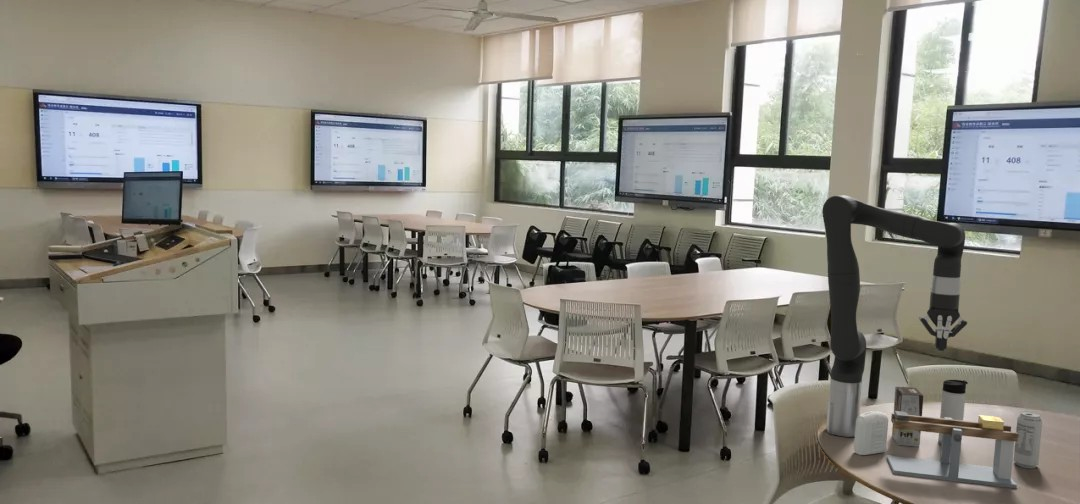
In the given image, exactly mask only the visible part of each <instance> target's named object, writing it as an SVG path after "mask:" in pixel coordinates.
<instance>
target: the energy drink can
mask: <svg viewBox="0 0 1080 504" xmlns="http://www.w3.org/2000/svg"><path fill="white" fill-rule="evenodd" d="M1042 428H1043V420H1042V419H1041V414H1039V413H1036V412H1033V411H1020V413H1019V415H1018V416H1017V418H1016V429H1015V432H1017V433H1018V442H1015V441H1014V449H1013V461H1014V462H1015V465H1016V466H1018V467H1021V468H1026V469H1036V467H1037V466H1039V461H1040V460H1039V458H1040V451H1041V441H1042V440H1041V439H1042V438H1041V437H1042V430H1043V429H1042Z"/></svg>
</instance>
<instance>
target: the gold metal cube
mask: <svg viewBox="0 0 1080 504" xmlns="http://www.w3.org/2000/svg"><path fill="white" fill-rule="evenodd" d="M977 422H978V428H980V429H989V430H998V431H1003V427H1004V425H1005V422H1004V420H1003V419H1002V418H1001V417H999V416H993V415H982V414H978V421H977Z"/></svg>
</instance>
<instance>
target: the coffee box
mask: <svg viewBox="0 0 1080 504" xmlns="http://www.w3.org/2000/svg"><path fill="white" fill-rule="evenodd" d="M893 400H894V402H893V413H895V411H902V412H907V414H908V415H914V416H923V407H924V394H923V393H921V392H920V390H919V389H918V388H916V387H909V386H895V389H894V399H893ZM891 431H892V433H891V436H892V438H893V440H894V442H895V443H896V444H897V445H898V446H905V447H906V446H907V447H914V448H915V447H916V448H917V447H918V448H919V447H920V445H921V444H920V443H921V433H922V431H915V430H906V429H897V428H895V427H894V425H893V424H892V429H891Z"/></svg>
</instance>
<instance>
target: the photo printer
mask: <svg viewBox="0 0 1080 504" xmlns="http://www.w3.org/2000/svg"><path fill="white" fill-rule="evenodd" d="M888 427H889V417H888V415H887V414H886V413H885V412H881V411H880V410H879V411H878V410H870V411H865V412H863V413H861V414H860V415H859V416H858V417H857V419H856V428H855V436H854V441H853V442H854V443H853V451H854V453H856V455H859V456H868V455H874V454H880V453H885V452H886V451H887V443H888V441H887V440H888V439H887V438H888V429H889V428H888Z"/></svg>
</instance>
